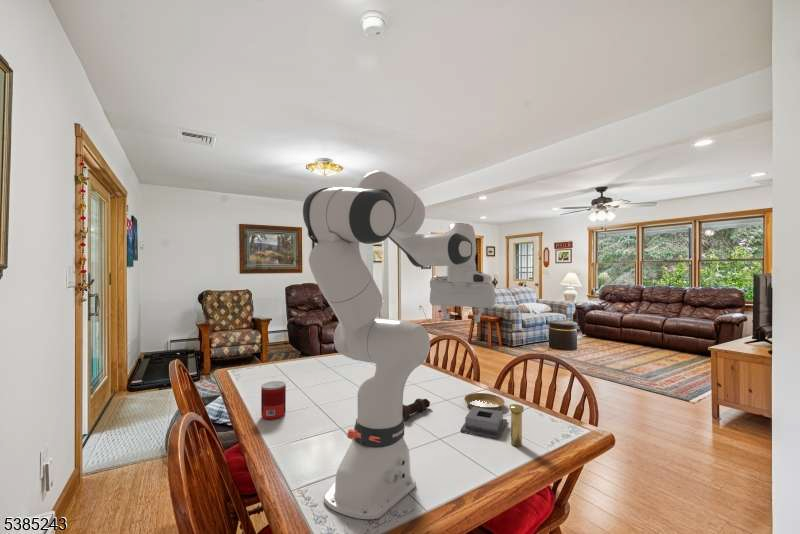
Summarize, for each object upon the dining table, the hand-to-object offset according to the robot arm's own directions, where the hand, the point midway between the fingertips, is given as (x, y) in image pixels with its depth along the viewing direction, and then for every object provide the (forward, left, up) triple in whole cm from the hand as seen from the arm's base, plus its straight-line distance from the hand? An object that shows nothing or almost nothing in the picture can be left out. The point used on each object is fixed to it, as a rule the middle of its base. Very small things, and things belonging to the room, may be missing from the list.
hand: (461, 321), depth 113 cm
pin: (+1, -16, -35) cm, 39 cm away
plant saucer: (+27, -1, -36) cm, 44 cm away
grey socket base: (+9, -5, -35) cm, 36 cm away
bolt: (+9, +19, -36) cm, 41 cm away
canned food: (-14, +63, -35) cm, 73 cm away
